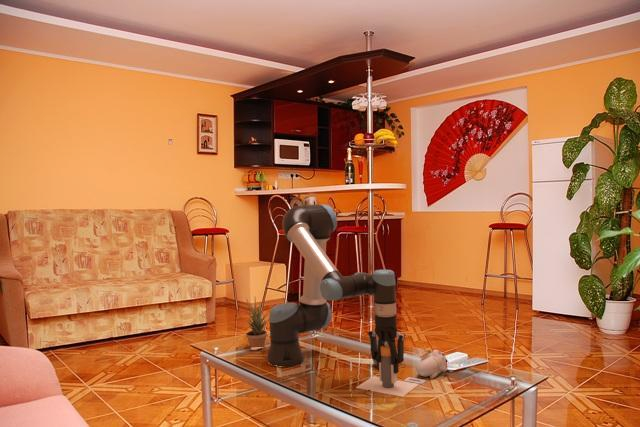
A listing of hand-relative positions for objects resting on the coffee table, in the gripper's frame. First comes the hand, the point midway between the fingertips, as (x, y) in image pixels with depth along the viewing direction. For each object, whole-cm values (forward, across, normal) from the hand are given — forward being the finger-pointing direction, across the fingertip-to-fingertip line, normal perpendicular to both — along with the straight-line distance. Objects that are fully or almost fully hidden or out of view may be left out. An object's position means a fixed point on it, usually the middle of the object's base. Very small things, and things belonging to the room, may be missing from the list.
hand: (388, 380), depth 186 cm
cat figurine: (+2, +8, +19) cm, 21 cm away
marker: (+2, 0, 0) cm, 2 cm away
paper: (+2, 0, 0) cm, 2 cm away
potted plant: (+2, -74, +15) cm, 75 cm away
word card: (+2, +6, +10) cm, 11 cm away
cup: (+2, -13, +19) cm, 23 cm away
